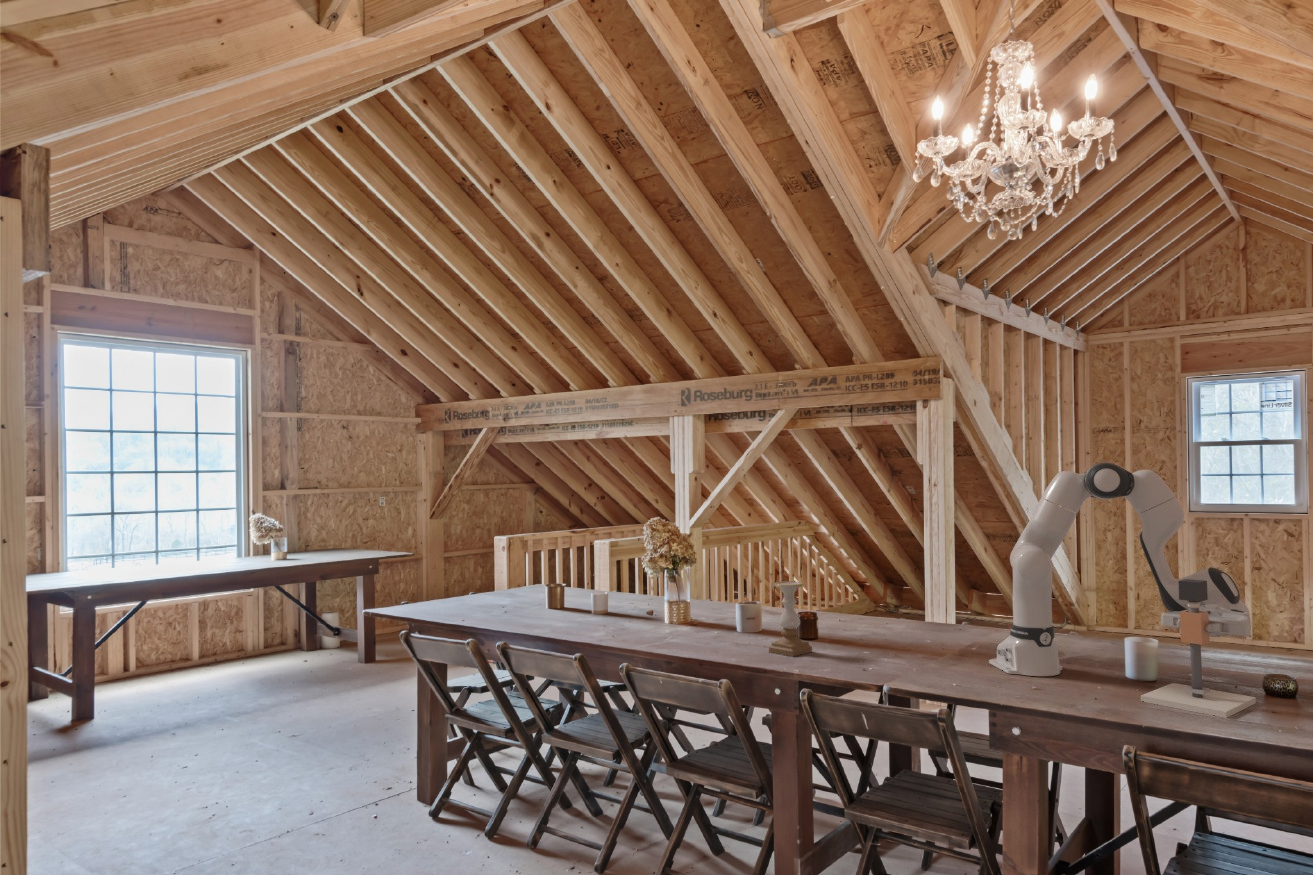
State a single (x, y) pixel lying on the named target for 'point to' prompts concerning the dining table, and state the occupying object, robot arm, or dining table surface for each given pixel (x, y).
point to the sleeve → (1194, 627)
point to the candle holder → (789, 624)
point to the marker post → (1197, 673)
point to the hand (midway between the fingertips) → (1193, 626)
